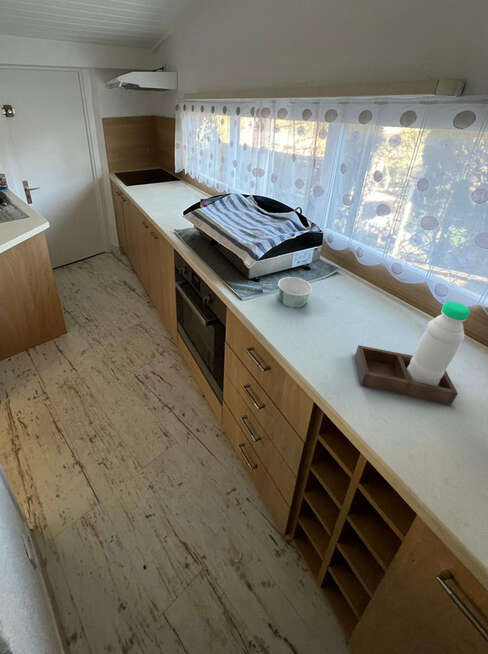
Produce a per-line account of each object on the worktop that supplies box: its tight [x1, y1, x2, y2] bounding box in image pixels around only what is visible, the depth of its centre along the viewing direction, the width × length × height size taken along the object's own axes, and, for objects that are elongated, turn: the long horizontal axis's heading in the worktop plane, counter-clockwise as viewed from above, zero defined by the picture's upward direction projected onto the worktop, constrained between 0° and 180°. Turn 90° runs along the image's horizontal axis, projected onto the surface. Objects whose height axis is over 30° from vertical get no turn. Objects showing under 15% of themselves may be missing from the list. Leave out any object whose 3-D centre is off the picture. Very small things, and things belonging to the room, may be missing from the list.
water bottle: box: [407, 301, 471, 386], centre depth 75 cm, size 7×7×25 cm
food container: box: [277, 276, 313, 308], centre depth 113 cm, size 12×12×6 cm
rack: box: [354, 344, 459, 407], centre depth 82 cm, size 20×11×5 cm, turn 72°
